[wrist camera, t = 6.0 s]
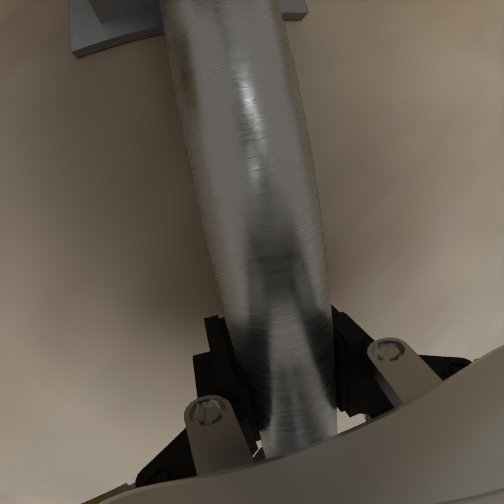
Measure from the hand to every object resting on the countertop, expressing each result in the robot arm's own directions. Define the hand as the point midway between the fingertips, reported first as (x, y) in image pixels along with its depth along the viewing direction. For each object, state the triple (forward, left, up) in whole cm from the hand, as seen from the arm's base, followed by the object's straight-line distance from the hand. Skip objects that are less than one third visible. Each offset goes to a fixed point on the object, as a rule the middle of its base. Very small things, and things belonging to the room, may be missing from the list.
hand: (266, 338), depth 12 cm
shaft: (-6, 0, 0) cm, 7 cm away
